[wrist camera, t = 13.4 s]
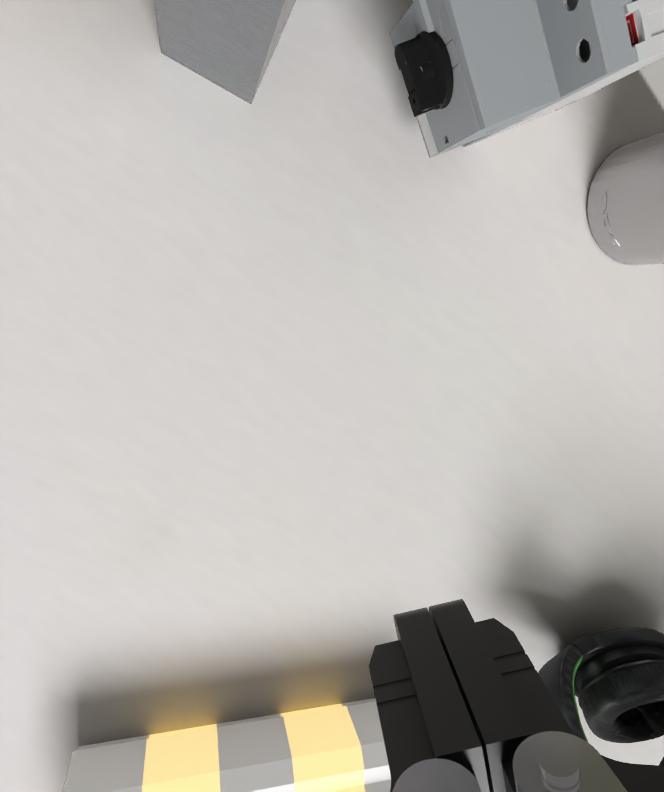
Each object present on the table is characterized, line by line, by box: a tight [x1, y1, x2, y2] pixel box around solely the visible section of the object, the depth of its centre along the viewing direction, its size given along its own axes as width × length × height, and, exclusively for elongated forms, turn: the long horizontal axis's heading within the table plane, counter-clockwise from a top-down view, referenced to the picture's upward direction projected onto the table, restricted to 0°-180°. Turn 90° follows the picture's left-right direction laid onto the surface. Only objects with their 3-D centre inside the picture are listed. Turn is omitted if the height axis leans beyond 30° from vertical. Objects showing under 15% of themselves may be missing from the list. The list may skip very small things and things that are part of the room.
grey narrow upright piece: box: [390, 0, 664, 158], centre depth 33 cm, size 8×14×15 cm, turn 112°
